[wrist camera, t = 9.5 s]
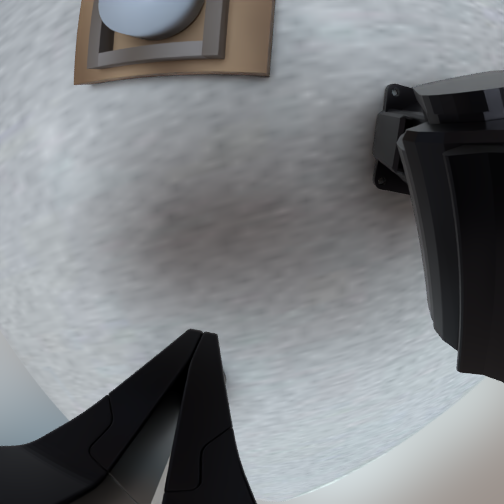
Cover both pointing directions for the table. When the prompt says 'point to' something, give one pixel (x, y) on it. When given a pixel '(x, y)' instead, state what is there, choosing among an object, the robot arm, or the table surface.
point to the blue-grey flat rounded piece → (149, 16)
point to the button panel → (179, 44)
